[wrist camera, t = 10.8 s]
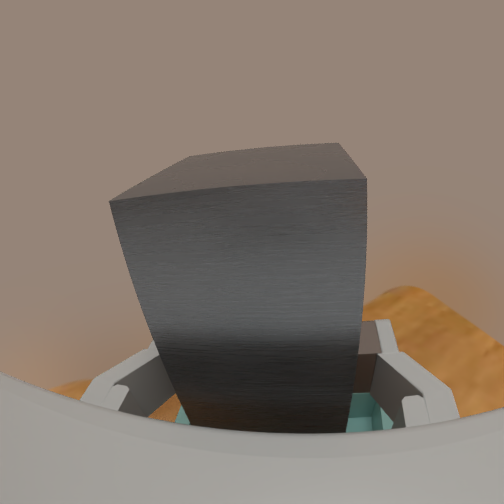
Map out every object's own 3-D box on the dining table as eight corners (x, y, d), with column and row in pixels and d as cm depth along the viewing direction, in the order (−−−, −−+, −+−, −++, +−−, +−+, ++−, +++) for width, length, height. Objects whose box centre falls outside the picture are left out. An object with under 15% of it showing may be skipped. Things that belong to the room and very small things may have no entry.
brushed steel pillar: (230, 497, 12) (109, 200, 6) (247, 425, 16) (189, 156, 10) (329, 502, 11) (367, 178, 5) (331, 427, 15) (338, 143, 9)
